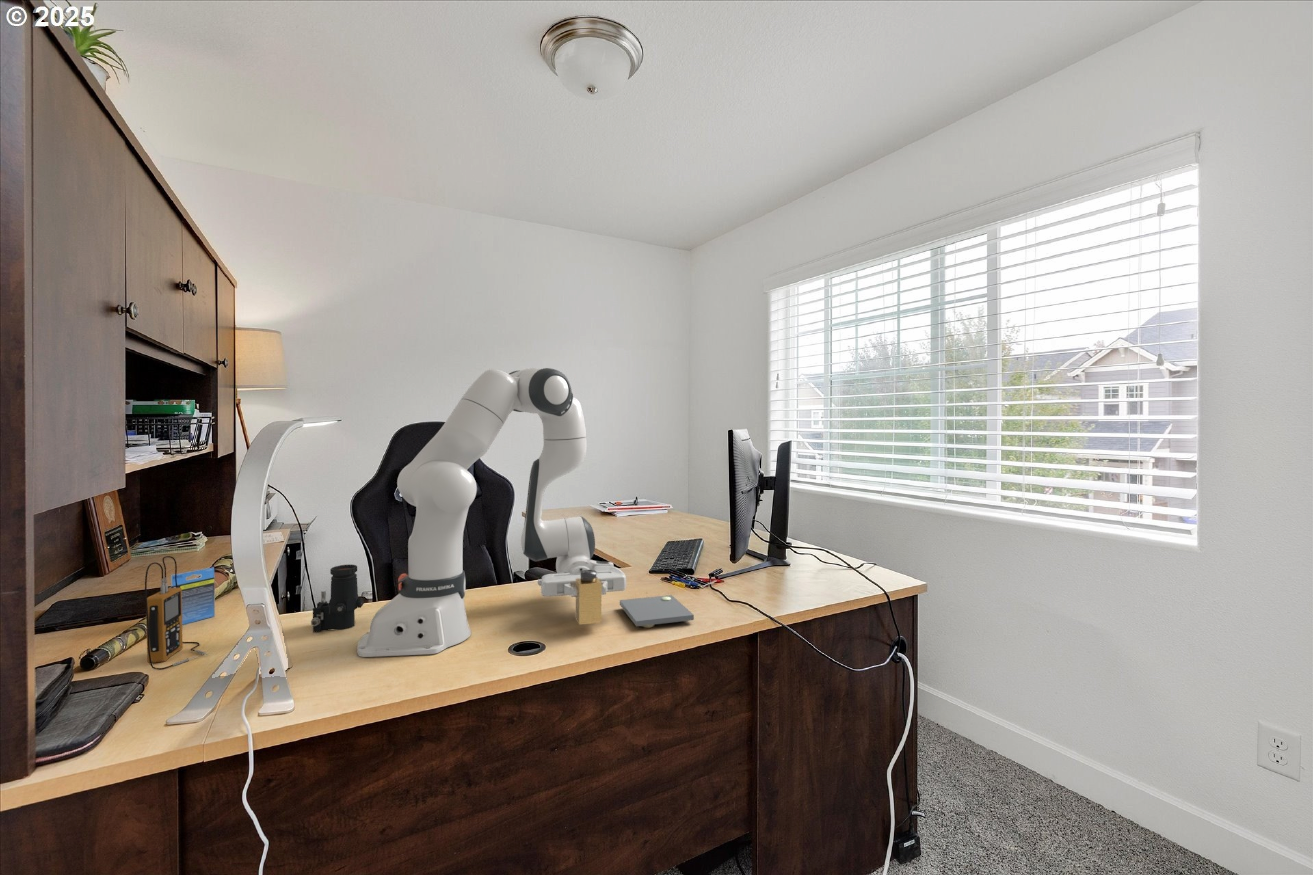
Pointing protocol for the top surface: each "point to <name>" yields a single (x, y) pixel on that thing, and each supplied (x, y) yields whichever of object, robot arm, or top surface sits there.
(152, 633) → the multimeter
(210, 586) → the label tape box
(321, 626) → the scope
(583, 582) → the block with dome knob
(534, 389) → the robot arm
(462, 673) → the top surface
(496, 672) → the top surface
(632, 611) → the base
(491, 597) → the top surface
